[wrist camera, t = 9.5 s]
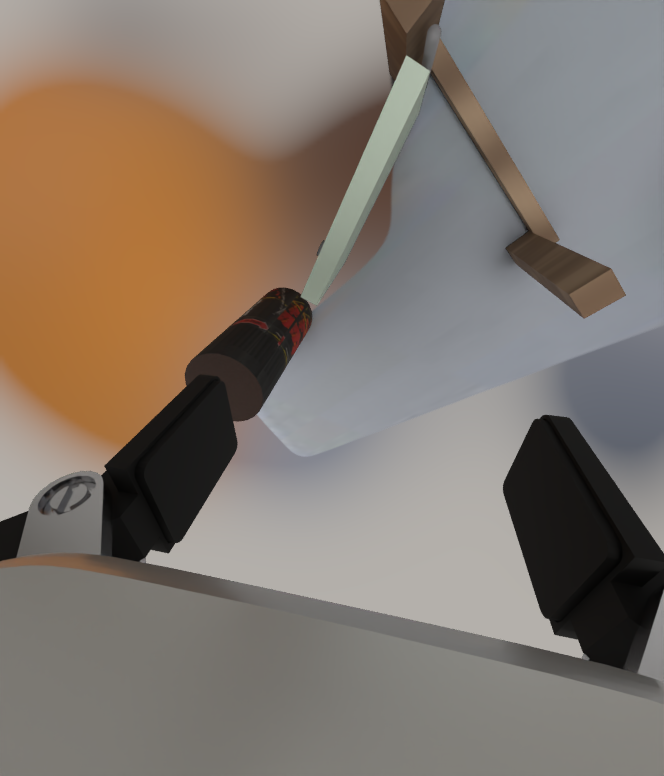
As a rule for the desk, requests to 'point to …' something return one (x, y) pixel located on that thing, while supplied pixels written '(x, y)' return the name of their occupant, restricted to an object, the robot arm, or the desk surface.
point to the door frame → (499, 166)
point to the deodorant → (255, 350)
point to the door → (373, 167)
